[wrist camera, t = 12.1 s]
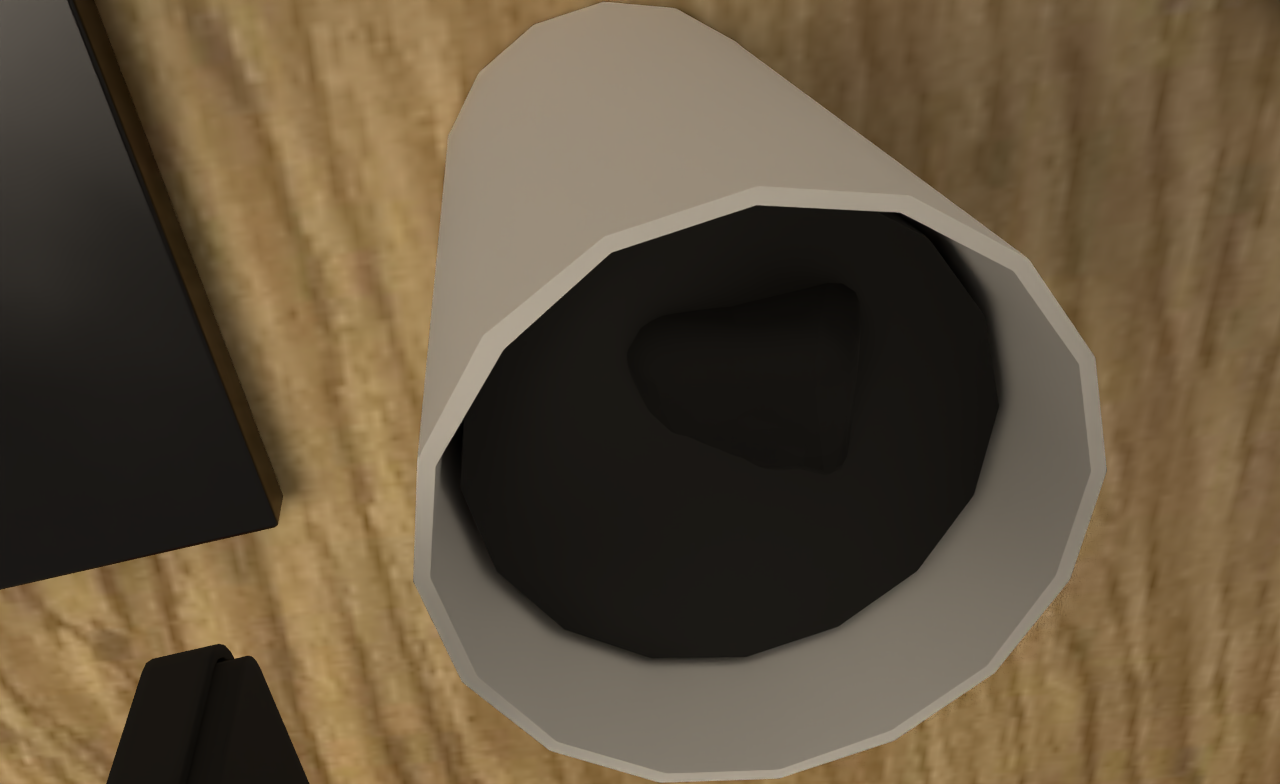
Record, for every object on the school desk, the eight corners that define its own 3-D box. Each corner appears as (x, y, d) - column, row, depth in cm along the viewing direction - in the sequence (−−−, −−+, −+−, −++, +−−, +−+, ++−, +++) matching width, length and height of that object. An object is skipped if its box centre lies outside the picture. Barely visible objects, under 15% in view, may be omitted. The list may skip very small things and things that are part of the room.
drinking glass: (380, -4, 18) (340, 241, 9) (813, -53, 19) (1149, 135, 10) (450, 386, 21) (467, 834, 13) (818, 332, 22) (1074, 724, 13)
